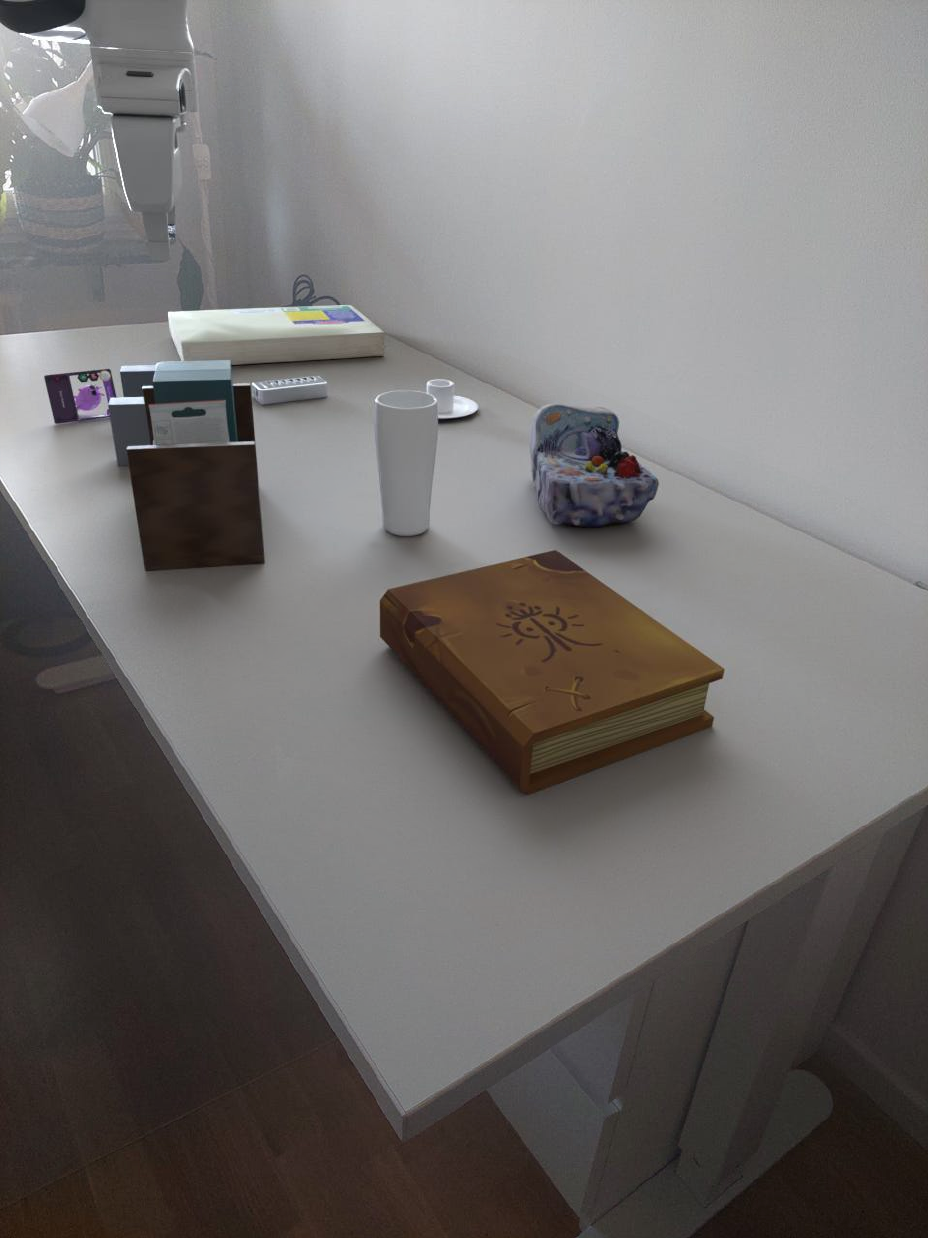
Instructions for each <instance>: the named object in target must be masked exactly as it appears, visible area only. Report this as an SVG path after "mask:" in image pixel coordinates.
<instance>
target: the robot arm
mask: <svg viewBox="0 0 928 1238" xmlns="http://www.w3.org/2000/svg"><path fill="white" fill-rule="evenodd" d="M189 2H190V0H0V24H1V25H2V26H4V27H5V28H7V30H9V31H12V32H14V33H17V34H20V35H23V36H26V37H27V38H28V37H29V38H31V39H37V40H44V41H45V40H47V41H56V42H62V43H63V42H64V43H77V44H89V51H90V59H91V67H92V73H93V80H94V86H95V87H94V88H95V95H96V105H97V107H98V108H100V109H101V111H102V113H104V114H110V118H109V119H110V125H111V133H112V138H113V144H114V148H115V153H116V159H117V164H118V168H119V174H120V177H121V182H122V186H123V187H122V188H123V191H124V195H125V197H126V200H127V204H128V206H129V209H130V211H132V212H134V213H141V217H142V223H143V227H144V231H145V235H146V238H147V242H148V250H149V252H148V253H149V258H150V259H151V260H152V261H154V262H169V260H170V259H171V257H172V250H171V245H175V243H176V242H177V239H178V238H177V225H176V215H177V214H176V212H177V209H176V207H177V206H176V205H177V204H176V201H177V200H178V197H179V195H180V193H181V191H182V188H183V184H184V183H183V182H184V177H183V169H182V168H183V166H182V156H181V146H180V138H179V134H180V133H186V132H187V131H188V125H187V123H186V122H187V114H188V113H198V112H199V111H200V102H199V101H200V100H199V90H198V79H197V65H196V54H195V47H194V43H193V40H192V37H191V34H190V29H189V24H188V8H189Z"/></svg>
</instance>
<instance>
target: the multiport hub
mask: <svg viewBox="0 0 928 1238" xmlns="http://www.w3.org/2000/svg"><path fill="white" fill-rule="evenodd" d="M251 388H252V399H254V400H255V401H256V402H258V403H259V405H271V404H281V403H288V402H297V401H306V400H314V399H323V398H328V397H329V396H328V382H327V381H326V380H325V379H323V378H321V376H319V375H310V376H309V375H308V376H302V377H301V376H300V377H291V378H282V379H281V378H280V379H272V380H265V381H253V382H252V384H251Z"/></svg>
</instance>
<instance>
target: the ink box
mask: <svg viewBox="0 0 928 1238" xmlns="http://www.w3.org/2000/svg"><path fill="white" fill-rule="evenodd" d="M186 407H191V408H192V409H204V410H205V412H206V414H205V415H202V416H191V417H172V412H173V411H181V410H184V409H185V408H186ZM149 409H150V415H151V422H152V429H153V437H154V440H153V445H170V444H195V443H220V442H230V440H229V433H228V425H227V416H226V400H210V401H194V402H177V403H160V404H149Z"/></svg>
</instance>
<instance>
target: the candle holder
mask: <svg viewBox="0 0 928 1238" xmlns="http://www.w3.org/2000/svg"><path fill="white" fill-rule="evenodd" d="M426 393H428V394H431V395H433V396H434V397H436V399H437V401H438V420H447V419H457V418H462V417H467V416H469V415H472V414H474V413H476V412H477V411H478V409H479V405H478V403H477V402H475V401H474V400H472V399H470V398H467V397H464V396H459V395H455V383H454V382H453V381H451V380H448V379H437V378H436V379H431V380H428V381H427V382H426Z"/></svg>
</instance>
